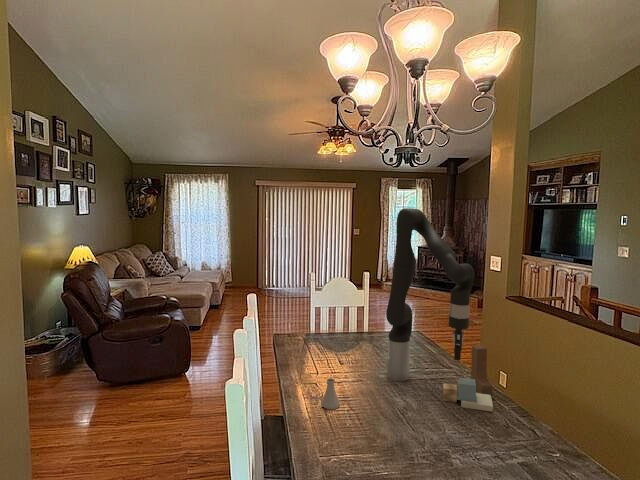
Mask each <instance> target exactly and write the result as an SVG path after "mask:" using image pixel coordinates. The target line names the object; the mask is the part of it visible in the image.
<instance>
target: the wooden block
mask: <svg viewBox="0 0 640 480" xmlns="http://www.w3.org/2000/svg"><path fill="white" fill-rule="evenodd" d="M487 355H488V348H487V347H485V346H484V345H482V344H480V345H479V344H475V345H472V346H471V358H470V359H471V365H470V366H471V367H470V379H474V380H475V383H476V393H480V394H487V395H492V396H493V384H492V382H490V380H489V379H488V376H487V375H488V374H487V365H488V364H487V361H488V356H487Z"/></svg>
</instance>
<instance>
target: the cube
mask: <svg viewBox="0 0 640 480" xmlns="http://www.w3.org/2000/svg"><path fill="white" fill-rule="evenodd" d="M457 392H458V395H459V399H463V400H470V401H476V393H477V392H476V383H475V380H474V379H471V378H465V377H458V388H457Z"/></svg>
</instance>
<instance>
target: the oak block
mask: <svg viewBox="0 0 640 480" xmlns="http://www.w3.org/2000/svg"><path fill="white" fill-rule="evenodd" d="M457 387H458V385H457V384H452V383H447V382H444V383H443V385H442V401H443V402H444V401H445V402H450V403H457V402H458V401H457V392H458V388H457Z"/></svg>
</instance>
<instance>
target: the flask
mask: <svg viewBox="0 0 640 480" xmlns="http://www.w3.org/2000/svg"><path fill="white" fill-rule="evenodd" d="M335 380H336V379H335V378H331V377H330V378H327V379H326V383H327V384H326V390H325V392H324V396H323V398H322V401H321V403H322V407H324V409H325V408H327V409H326V410H337V409H338V408H340V407H341V406H340V399H339V398H338V395H337V392H336V388H335V382H336V381H335ZM322 407H321V408H322Z"/></svg>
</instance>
